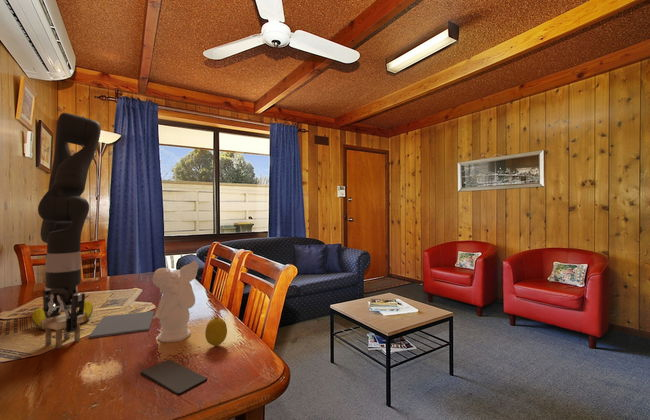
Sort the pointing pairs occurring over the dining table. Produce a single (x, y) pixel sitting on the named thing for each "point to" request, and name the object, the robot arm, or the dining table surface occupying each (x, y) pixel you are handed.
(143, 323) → the mat
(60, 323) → the stool
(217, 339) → the lemon
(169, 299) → the cherub figurine
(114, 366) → the dining table surface
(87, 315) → the gaming controller
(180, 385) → the smartphone
